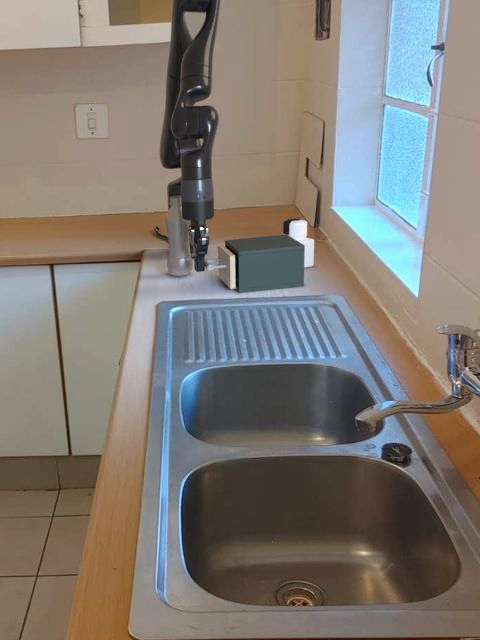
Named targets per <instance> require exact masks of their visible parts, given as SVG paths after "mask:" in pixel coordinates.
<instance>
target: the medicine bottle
mask: <svg viewBox="0 0 480 640" xmlns="http://www.w3.org/2000/svg"><path fill="white" fill-rule="evenodd" d="M286 234H287V235H288V236H290V237H292V238H293V239H295V240H297V241H298V242H300V243H301V244H303V245H305V256H304V269H306V268H311V267H314V265H315V264H314V262H315V261H314V260H315V239H314V238H310V237H307V236H308V221H307V220H306V219H303V218H288V219H286V220H284V221H283V223H282V235H286Z"/></svg>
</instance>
